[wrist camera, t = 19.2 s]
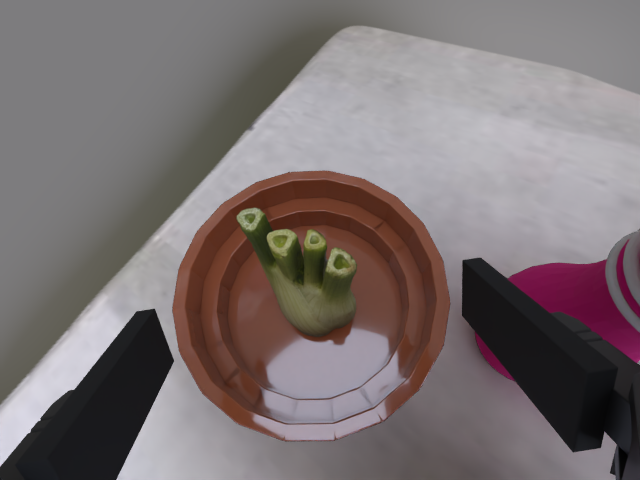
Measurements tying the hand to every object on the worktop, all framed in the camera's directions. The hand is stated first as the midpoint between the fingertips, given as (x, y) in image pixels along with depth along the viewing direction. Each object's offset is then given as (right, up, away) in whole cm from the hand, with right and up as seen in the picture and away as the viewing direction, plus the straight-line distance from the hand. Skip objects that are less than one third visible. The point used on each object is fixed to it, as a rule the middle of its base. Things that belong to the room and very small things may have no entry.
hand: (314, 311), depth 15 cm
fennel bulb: (0, -2, +11) cm, 11 cm away
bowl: (0, -2, +11) cm, 11 cm away
